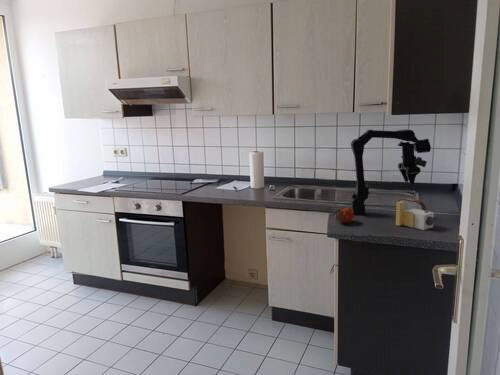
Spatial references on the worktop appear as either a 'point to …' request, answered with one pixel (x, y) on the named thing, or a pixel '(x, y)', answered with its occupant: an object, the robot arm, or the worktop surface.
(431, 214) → the camera housing
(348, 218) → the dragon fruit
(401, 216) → the side door
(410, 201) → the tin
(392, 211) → the worktop surface
